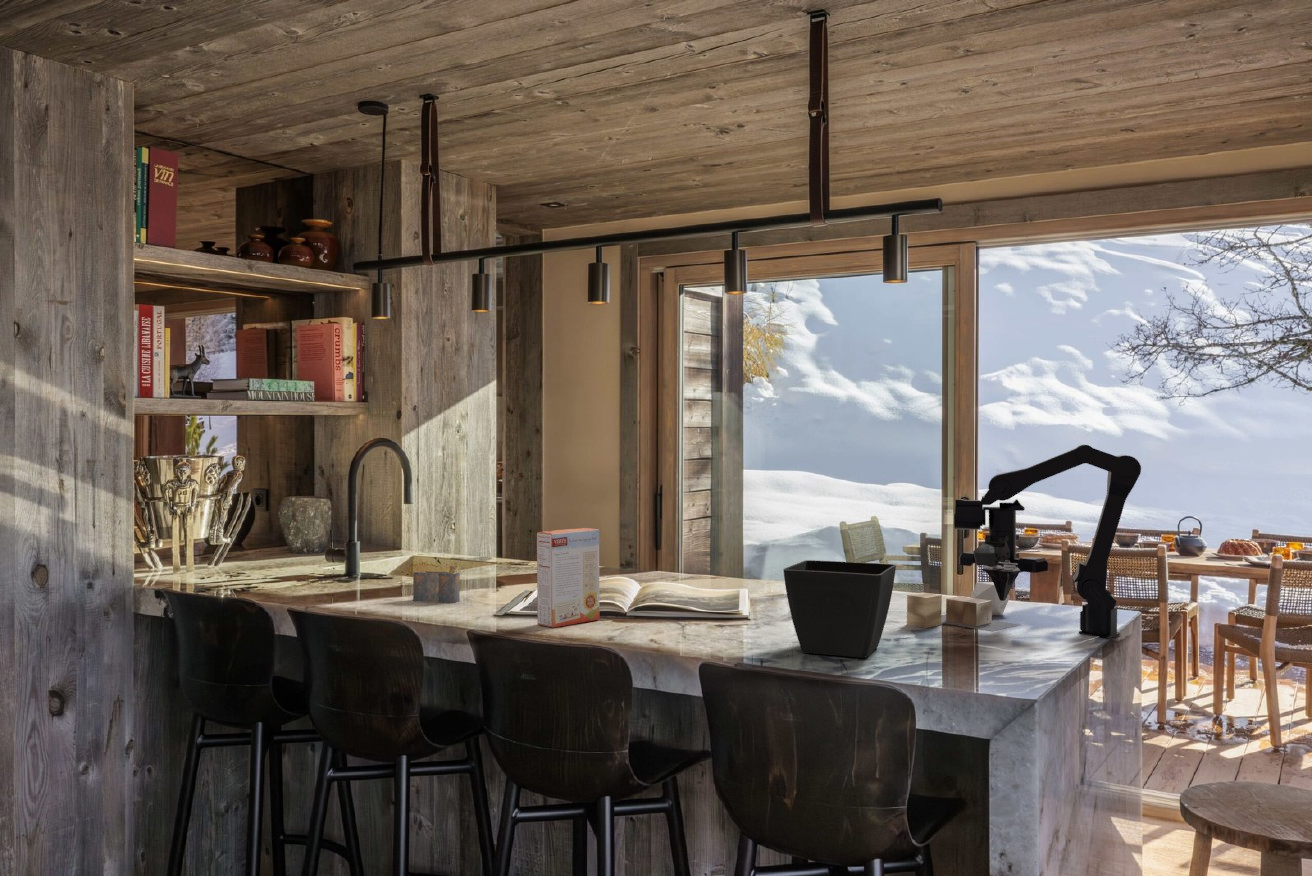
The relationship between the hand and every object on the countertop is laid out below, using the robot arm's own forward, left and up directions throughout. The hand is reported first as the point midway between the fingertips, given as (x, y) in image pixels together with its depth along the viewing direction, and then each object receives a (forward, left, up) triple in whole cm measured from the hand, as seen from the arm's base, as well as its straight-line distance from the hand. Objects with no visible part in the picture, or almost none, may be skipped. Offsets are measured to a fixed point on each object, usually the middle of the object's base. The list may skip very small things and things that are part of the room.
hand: (1002, 600), depth 223 cm
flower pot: (+9, +46, -7) cm, 47 cm away
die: (+11, -13, -6) cm, 18 cm away
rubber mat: (+8, 0, -6) cm, 10 cm away
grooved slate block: (+110, +80, -7) cm, 136 cm away
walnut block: (+4, 0, -3) cm, 5 cm away
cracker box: (+66, +71, -6) cm, 97 cm away
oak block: (+13, +11, -6) cm, 18 cm away
